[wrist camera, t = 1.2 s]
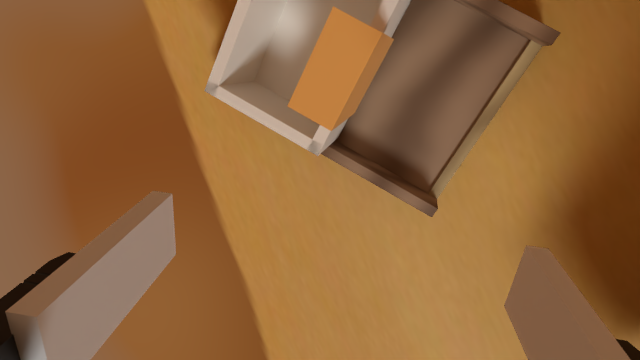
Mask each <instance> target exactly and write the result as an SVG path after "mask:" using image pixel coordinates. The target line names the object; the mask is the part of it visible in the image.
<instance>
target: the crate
mask: <svg viewBox="0 0 640 360" xmlns="http://www.w3.org/2000/svg"><path fill="white" fill-rule="evenodd" d="M410 2H411V0H238V1H237V4H236V6H235V9H234V12H233V14H232V17H231V20H230V23H229V25H228V28H227V31H226V34H225V36H224V39H223V42H222V44H221V47H220V50H219V53H218V55H217V58H216V61H215V63H214V66H213V69H212V72H211V74H210V77H209V80H208V83H207V85H206V88H205V91H206V92H207V93H209V94H211V95H213V96H214V97H216V98H218V99H219V100H221V101H223V102H225V103H226V104H228V105H230V106H232V107H233V108H235V109H237V110H239V111H240V112H242V113H244V114H246V115H247V116H249V117H251V118H253V119H254V120H256V121H258V122H259V123H261V124H263V125H265V126H266V127H268V128H270V129H272V130H273V131H275V132H277V133H279V134H280V135H282V136H284V137H286V138H287V139H289V140H291V141H293V142H294V143H296V144H298V145H300V146H301V147H303V148H305V149H306V150H308V151H310V152H312V153H313V154H315V155H317V156H318V155H319V154H321V153H322V152H323V151H324V150H325V149H326V148H327V147H328V146H329V145H330V144H332V143H333V142H334V141H335V140H336V139H337V138H338V137H339V135H340V133H341V131H342V129H343V128H344V126H345V124H346V122H347V120H348V118H349V117H350V116H352V115H353V114H354V113H355V112H356V110H357V108H358V106H359V104H360V102H361V100H362V98H363V97H364V95H365V93H366V91H367V89H368V87H369V85H370V84H371V82H372V80H373V78H374V76H375V74H376V72H377V71H378V69H379V67H380V65H381V63H382V61H383V59H384V58H385V56H386V54H387V52H388V50H389V48H390V46H391V44H392V43H393V41H394V39H393V38H392V36H393V34H394V32H395V30H396V28H397V26H398V24H399V23H400V21H401V19H402V17H403V15H404V13H405V11H406V9H407V8H408V6H409V4H410Z"/></svg>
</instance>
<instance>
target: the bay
mask: <svg viewBox="0 0 640 360" xmlns="http://www.w3.org/2000/svg"><path fill="white" fill-rule="evenodd" d="M559 34H560V32H558V31H556V30H554V29H552V28H550V27H549V26H547V25H545V24H543V23H541V22H539V21H537V20H535V19H533V18H531V17H529V16H527V15H525V14H523V13H521V12H520V11H518V10H516V9H514V8H512V7H510V6H508V5H506V4H504V3H502V2H500V1H498V0H411V2H410V4H409V6H408V8H407V9H406V11H405V13H404V15H403V17H402V19H401V21H400V23H399V24H398V26H397V28H396V30H395V32H394V34H393V36H392V38H393V39H394V41H393V43H392V44H391V46H390V48H389V50H388V52H387V54H386V56H385V58H384V59H383V61H382V63H381V65H380V67H379V69H378V71H377V72H376V74H375V76H374V78H373V80H372V82H371V84H370V85H369V87H368V89H367V91H366V93H365V95H364V97H363V98H362V100H361V102H360V104H359V106H358V108H357V110H356V112H355V113H354V114H353V115H352V116H350V117H349V118H348V120H347V122H346V124H345V126H344V128H343V129H342V131H341V133H340V135H339V137H338V138H337V139H336V140H335V141H334V142H333V143H332V144H330V145H329V146H328V147H327V148H326V149H325V150H324V151H323V152H322V153H321V154H322V155H324V156H326V157H328V158H329V159H331V160H333V161H335V162H336V163H338V164H340V165H342V166H343V167H345V168H347V169H349V170H350V171H352V172H354V173H356V174H357V175H359V176H361V177H363V178H364V179H366V180H368V181H370V182H371V183H373V184H375V185H376V186H378V187H380V188H382V189H383V190H385V191H387V192H389V193H390V194H392V195H394V196H396V197H397V198H399V199H401V200H403V201H404V202H406V203H408V204H410V205H411V206H413V207H415V208H417V209H418V210H420V211H422V212H424V213H425V214H427V215H429V216H431V217H432V216H433V215H434V213H435V212H436V210H437V209H438V206H437V198H438V197H439V195H440V194H441V193H442V191H443V190H444V188H445V187H446V185H447V184H448V182H449V181H450V179H451V178H452V177H453V175H454V174H455V172H456V171H457V169H458V168H459V166H460V165H461V163H462V162H463V161H464V159H465V158H466V156H467V155H468V153H469V152H470V150H471V149H472V148H473V146H474V145H475V143H476V142H477V140H478V139H479V137H480V136H481V134H482V133H483V132H484V130H485V129H486V127H487V126H488V124H489V123H490V121H491V120H492V118H493V117H494V116H495V114H496V113H497V111H498V110H499V108H500V107H501V105H502V104H503V103H504V101H505V100H506V98H507V97H508V95H509V94H510V92H511V91H512V89H513V88H514V87H515V85H516V84H517V82H518V81H519V79H520V78H521V76H522V75H523V73H524V72H525V71H526V69H527V68H528V66H529V65H530V63H531V62H532V60H533V59H534V58H535V56H536V55H537V53H538V52H539V50H540V49H541V47H542V46H548V45H552V44H553V43H554V41H555V40H556V38H557V37H558V36H559Z"/></svg>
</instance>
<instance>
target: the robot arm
mask: <svg viewBox="0 0 640 360" xmlns="http://www.w3.org/2000/svg"><path fill="white" fill-rule="evenodd" d="M175 255H176V247H175V231H174V215H173V198H172V194H171V193H164V192H158V191H152V192H151V193H150V194H149V195H147V196H146V197H145V198H144V199H142V200H141V201H140V202H139V203H138V204H136V205H135V206H134V207H133V208H131V209H130V210H129V211H128V212H127V213H125V214H124V215H123V216H122V217H120V218H119V219H118V220H117V221H116V222H114V223H113V224H112V225H111V226H109V227H108V228H107V229H106V230H104V231H103V232H102V233H101V234H100V235H98V236H97V237H96V238H95V239H94V240H92V241H91V242H90V243H89V244H87V245H86V246H85V247H84V248H82V249H81V250H80V251H79V252H78V253H70V252H68V253H66V254H63V255H61V256H59V257H57V258H55V259H53V260H50V261H49V262H48V263H46V264H45V265H44V266H42V267H41V268H40V269H38V270H37V271H36V273H35V274H32V275H31V276H29V277H28V278H27V279H25V280H24V283H20V284H19V285H18V286H16V287H15V288H14V289H13V290H11V291H10V292H9V293H7V294H6V295H5V296H3V297H2V298H1V299H0V360H90V359H91V358H92V357H93V356H94V354H95V353H96V352H97V351H98V350H99V348H100V347H101V346H102V345H103V343H104V342H105V341H106V340H107V338H108V337H109V336H110V335H111V334H112V332H113V331H114V330H115V329H116V327H117V326H118V325H119V324H120V322H121V321H122V320H123V319H124V318H125V316H126V315H127V314H128V312H129V311H130V310H131V309H132V308H133V306H134V305H135V304H136V303H137V301H138V300H139V299H140V298H141V296H142V295H143V294H144V293H145V292H146V290H147V289H148V288H149V287H150V285H151V284H152V283H153V282H154V280H155V279H156V278H157V277H158V276H159V274H160V273H161V272H162V271H163V269H164V268H165V267H166V266H167V265H168V263H169V262H170V261H171V259H172V258H173V257H174V256H175ZM504 306H505V309H506V311H507V313H508V315H509V318H510V320H511V322H512V324H513V327H514V329H515V331H516V333H517V336H518V338H519V340H520V342H521V345H522V347H523V349H524V351H525V354H526V356H527V358H528V360H640V351H639V350H637V349H636V348H635V347H634V346H633V345H631V344H630V343H629V342H628V341H625V340H618V339H615V338H614V336H613V335H612V334H611V332H610V331H609V330H608V328H607V327H606V326H605V324H604V323H603V322H602V320H601V319H600V318H599V316H598V315H597V314H596V312H595V311H594V309H593V308H592V307H591V305H590V304H589V303H588V301H587V300H586V299H585V297H584V296H583V295H582V293H581V292H580V291H579V289H578V288H577V286H576V285H575V284H574V282H573V281H572V280H571V278H570V277H569V276H568V274H567V273H566V272H565V270H564V269H563V268H562V266H561V265H560V263H559V262H558V261H557V259H556V258H555V257H554V255H553V254H552V253H551V251H550V250H549V249H548V248H541V247H534V246H527V245H526V248H525V250H524V253H523V256H522V259H521V261H520V264H519V267H518V270H517V272H516V275H515V278H514V281H513V283H512V286H511V289H510V292H509V294H508V297H507V300H506V303H505V305H504Z"/></svg>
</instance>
